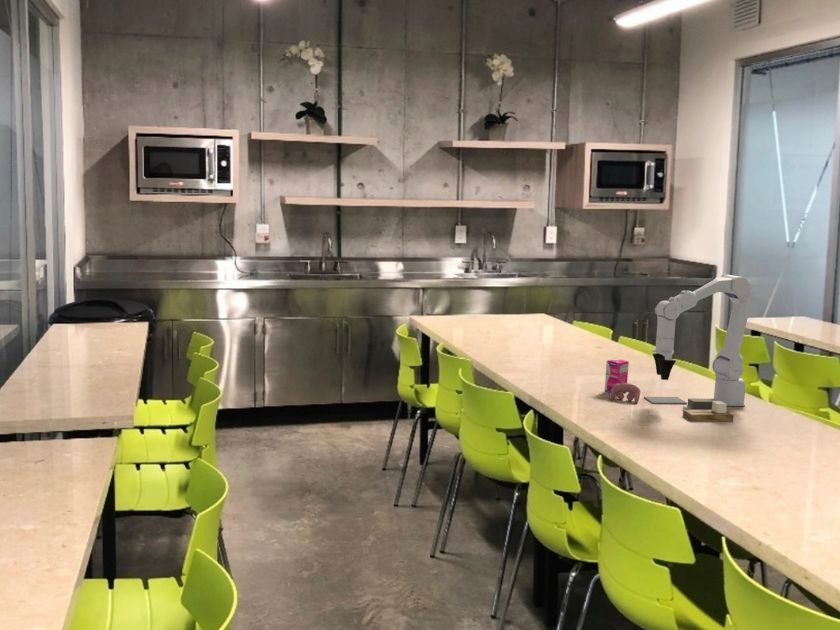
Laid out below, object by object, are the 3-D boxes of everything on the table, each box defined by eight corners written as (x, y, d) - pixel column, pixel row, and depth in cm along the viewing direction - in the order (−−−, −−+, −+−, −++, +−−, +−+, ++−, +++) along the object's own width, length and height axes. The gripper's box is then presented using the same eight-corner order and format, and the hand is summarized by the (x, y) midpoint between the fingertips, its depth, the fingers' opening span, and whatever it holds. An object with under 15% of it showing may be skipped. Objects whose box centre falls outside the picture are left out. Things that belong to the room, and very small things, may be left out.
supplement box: (603, 391, 301) (606, 359, 299) (613, 389, 305) (615, 358, 303) (617, 394, 297) (619, 362, 295) (627, 392, 300) (629, 360, 299)
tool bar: (713, 408, 281) (713, 398, 281) (718, 412, 277) (719, 401, 277) (681, 408, 280) (682, 398, 279) (686, 411, 276) (687, 401, 275)
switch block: (724, 415, 272) (724, 409, 272) (733, 420, 266) (733, 414, 266) (682, 415, 271) (683, 409, 270) (690, 420, 265) (691, 414, 264)
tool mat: (676, 398, 294) (677, 396, 294) (686, 404, 286) (686, 402, 286) (643, 398, 293) (644, 396, 293) (652, 403, 285) (652, 402, 285)
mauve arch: (639, 406, 287) (642, 386, 289) (637, 403, 284) (640, 383, 285) (610, 402, 292) (613, 383, 293) (608, 399, 288) (611, 379, 290)
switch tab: (720, 410, 270) (721, 401, 270) (726, 413, 267) (726, 403, 266) (711, 410, 270) (712, 401, 270) (716, 413, 267) (717, 403, 266)
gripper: (649, 332, 287) (646, 372, 289) (657, 340, 273) (654, 381, 275) (670, 333, 287) (667, 372, 289) (679, 341, 272) (676, 382, 274)
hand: (662, 377), depth 282 cm, fingers open, 7 cm apart
